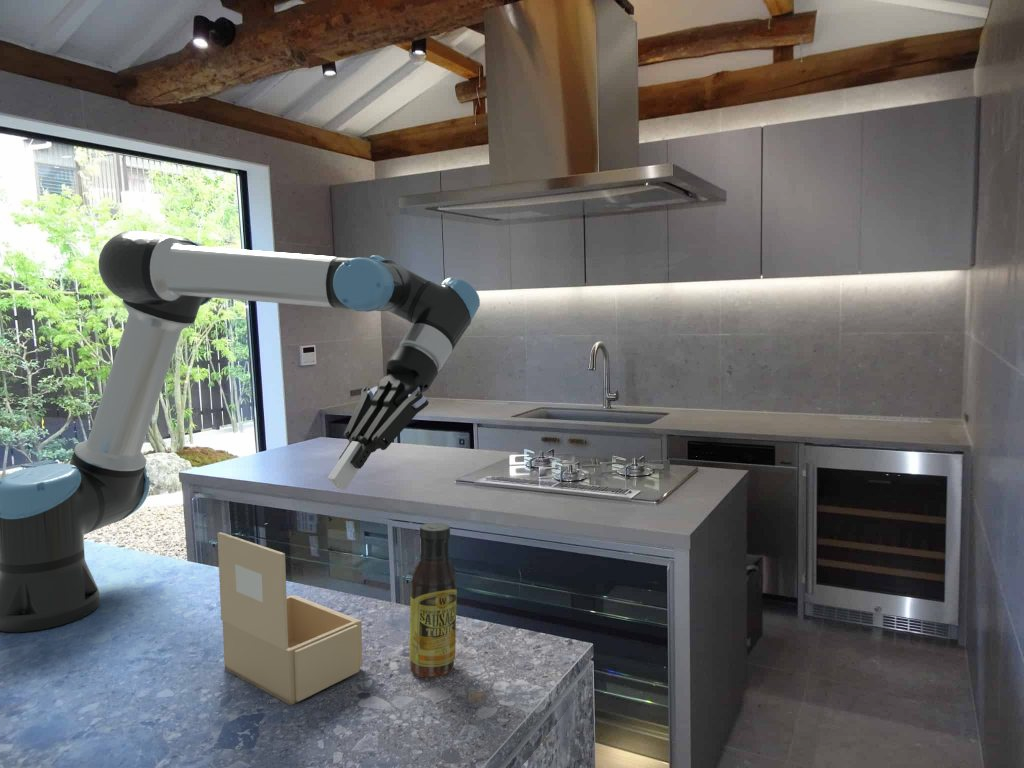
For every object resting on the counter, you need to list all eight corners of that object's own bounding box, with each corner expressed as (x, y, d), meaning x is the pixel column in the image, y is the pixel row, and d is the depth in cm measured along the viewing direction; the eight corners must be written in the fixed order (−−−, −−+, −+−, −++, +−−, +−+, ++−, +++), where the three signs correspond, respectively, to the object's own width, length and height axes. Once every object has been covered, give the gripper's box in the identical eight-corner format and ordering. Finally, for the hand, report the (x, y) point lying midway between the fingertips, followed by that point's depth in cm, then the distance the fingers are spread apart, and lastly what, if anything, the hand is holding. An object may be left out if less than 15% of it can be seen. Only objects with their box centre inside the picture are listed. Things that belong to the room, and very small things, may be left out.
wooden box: (222, 668, 99) (220, 618, 98) (294, 638, 108) (292, 592, 107) (293, 707, 89) (291, 652, 88) (366, 670, 98) (365, 620, 97)
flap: (220, 620, 97) (216, 533, 96) (224, 618, 98) (220, 532, 96) (284, 650, 88) (280, 554, 87) (288, 648, 89) (285, 553, 88)
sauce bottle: (418, 685, 94) (416, 536, 92) (403, 664, 99) (400, 523, 98) (464, 673, 97) (463, 529, 95) (447, 654, 102) (445, 517, 101)
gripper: (461, 377, 112) (382, 505, 100) (402, 373, 120) (323, 492, 108) (436, 344, 107) (351, 474, 96) (377, 342, 115) (291, 463, 103)
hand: (336, 483), depth 102 cm, fingers closed
